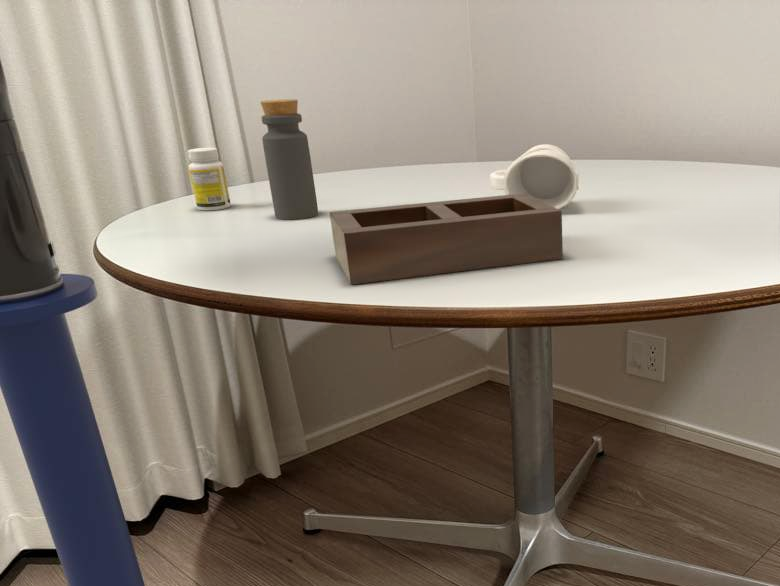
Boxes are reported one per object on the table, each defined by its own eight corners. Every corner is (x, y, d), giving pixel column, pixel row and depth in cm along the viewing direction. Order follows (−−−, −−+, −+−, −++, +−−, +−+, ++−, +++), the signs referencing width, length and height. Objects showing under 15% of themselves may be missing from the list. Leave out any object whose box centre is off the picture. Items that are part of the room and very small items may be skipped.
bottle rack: (563, 258, 83) (562, 210, 80) (350, 285, 76) (343, 233, 74) (525, 236, 93) (523, 193, 91) (335, 257, 86) (329, 211, 84)
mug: (579, 201, 113) (579, 142, 109) (578, 214, 104) (577, 151, 101) (496, 203, 113) (493, 145, 110) (488, 216, 105) (484, 153, 102)
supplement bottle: (212, 204, 120) (200, 147, 117) (237, 205, 119) (226, 147, 116) (190, 210, 116) (177, 151, 113) (216, 211, 115) (204, 151, 111)
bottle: (291, 211, 113) (273, 99, 107) (326, 212, 111) (310, 98, 105) (266, 219, 108) (246, 102, 102) (303, 220, 106) (285, 101, 100)
